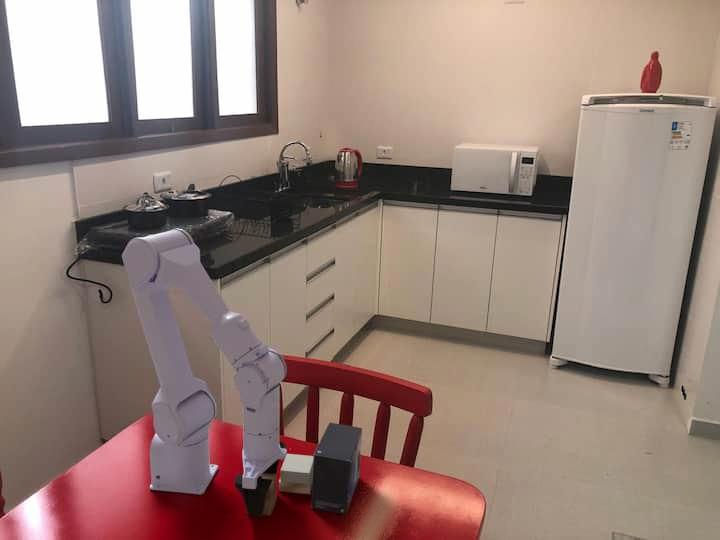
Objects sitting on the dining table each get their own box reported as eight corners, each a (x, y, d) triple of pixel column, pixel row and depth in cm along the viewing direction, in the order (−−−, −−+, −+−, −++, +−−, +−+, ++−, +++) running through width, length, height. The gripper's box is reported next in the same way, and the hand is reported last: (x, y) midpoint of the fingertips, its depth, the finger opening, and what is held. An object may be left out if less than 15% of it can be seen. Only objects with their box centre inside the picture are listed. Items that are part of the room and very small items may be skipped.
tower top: (280, 481, 98) (280, 470, 98) (286, 464, 103) (286, 453, 103) (309, 484, 98) (309, 473, 97) (314, 467, 103) (314, 456, 102)
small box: (348, 516, 93) (350, 460, 90) (310, 510, 94) (311, 454, 92) (361, 477, 103) (363, 426, 100) (326, 472, 104) (327, 421, 102)
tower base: (278, 493, 99) (278, 482, 98) (285, 473, 104) (285, 463, 104) (310, 496, 98) (310, 485, 98) (315, 476, 104) (315, 466, 103)
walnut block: (246, 513, 93) (246, 487, 92) (253, 497, 97) (253, 472, 96) (270, 516, 93) (270, 489, 91) (276, 500, 97) (276, 474, 95)
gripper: (274, 454, 83) (275, 532, 87) (295, 405, 97) (294, 474, 101) (227, 449, 84) (229, 527, 88) (255, 402, 98) (255, 470, 102)
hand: (261, 498), depth 94 cm, fingers open, 7 cm apart
